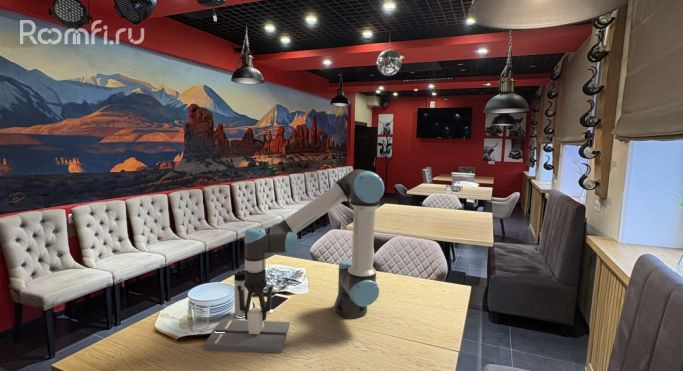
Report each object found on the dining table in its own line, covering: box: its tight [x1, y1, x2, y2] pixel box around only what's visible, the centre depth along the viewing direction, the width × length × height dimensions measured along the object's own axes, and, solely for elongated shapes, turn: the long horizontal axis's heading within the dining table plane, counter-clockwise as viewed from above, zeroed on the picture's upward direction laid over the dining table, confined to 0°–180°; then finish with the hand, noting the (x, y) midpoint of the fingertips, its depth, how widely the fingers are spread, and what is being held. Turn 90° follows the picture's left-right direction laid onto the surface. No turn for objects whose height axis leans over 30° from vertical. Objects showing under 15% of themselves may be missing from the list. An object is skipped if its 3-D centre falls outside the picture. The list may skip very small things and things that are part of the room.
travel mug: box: [233, 269, 251, 317], centre depth 149 cm, size 6×7×20 cm
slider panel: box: [203, 318, 291, 354], centre depth 133 cm, size 28×18×2 cm, turn 88°
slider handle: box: [249, 306, 262, 334], centre depth 133 cm, size 4×5×10 cm
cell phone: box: [255, 293, 292, 315], centre depth 162 cm, size 9×18×1 cm, turn 157°
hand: (255, 327), depth 133 cm, fingers closed on slider handle, 4 cm apart
